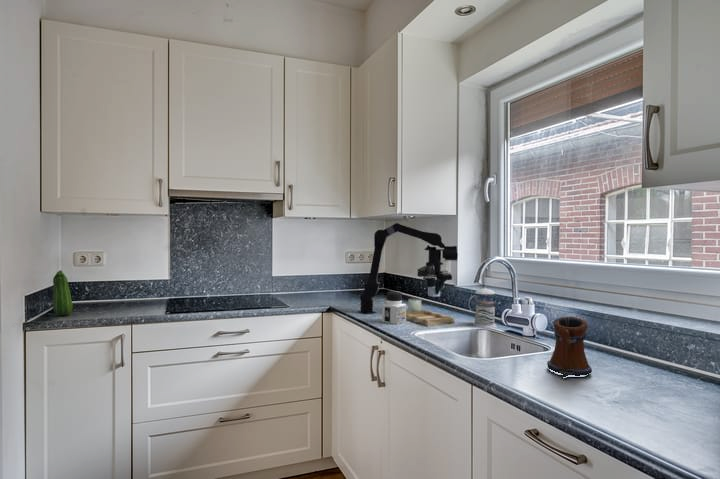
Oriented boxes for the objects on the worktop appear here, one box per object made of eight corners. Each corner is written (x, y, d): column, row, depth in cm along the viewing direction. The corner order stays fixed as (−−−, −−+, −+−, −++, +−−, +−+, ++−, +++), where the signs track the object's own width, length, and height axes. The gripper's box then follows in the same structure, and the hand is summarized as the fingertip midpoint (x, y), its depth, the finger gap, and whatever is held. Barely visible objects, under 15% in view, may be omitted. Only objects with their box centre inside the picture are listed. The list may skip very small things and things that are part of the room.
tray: (400, 317, 201) (400, 312, 201) (425, 315, 208) (425, 310, 208) (427, 326, 183) (427, 320, 183) (454, 323, 190) (454, 318, 190)
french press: (498, 328, 181) (499, 266, 181) (468, 326, 183) (469, 266, 183) (495, 323, 191) (496, 265, 190) (467, 321, 193) (468, 264, 192)
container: (396, 324, 186) (397, 293, 185) (381, 322, 190) (381, 291, 190) (406, 321, 192) (406, 291, 191) (391, 319, 196) (391, 290, 196)
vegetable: (71, 316, 194) (71, 270, 194) (51, 317, 191) (51, 271, 190) (73, 313, 200) (73, 269, 200) (54, 314, 197) (54, 269, 197)
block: (427, 295, 209) (428, 287, 209) (434, 295, 211) (434, 286, 211) (433, 296, 205) (433, 288, 205) (440, 296, 207) (440, 287, 207)
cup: (405, 314, 210) (406, 299, 209) (416, 313, 212) (416, 298, 212) (413, 316, 204) (413, 300, 204) (423, 315, 207) (424, 300, 207)
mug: (585, 388, 112) (587, 329, 112) (537, 379, 119) (538, 323, 118) (594, 370, 127) (595, 318, 127) (551, 363, 134) (552, 313, 133)
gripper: (408, 259, 212) (408, 292, 212) (433, 262, 196) (433, 297, 196) (427, 258, 217) (426, 290, 218) (453, 261, 201) (452, 296, 202)
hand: (433, 293), depth 208 cm, fingers closed on block, 4 cm apart
